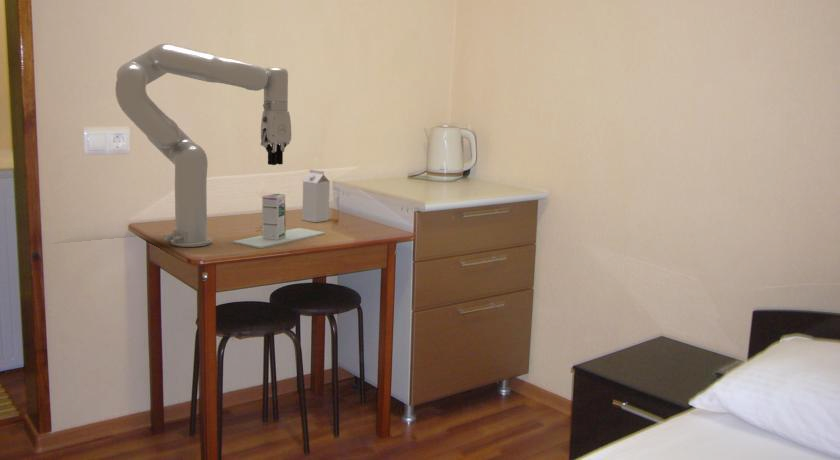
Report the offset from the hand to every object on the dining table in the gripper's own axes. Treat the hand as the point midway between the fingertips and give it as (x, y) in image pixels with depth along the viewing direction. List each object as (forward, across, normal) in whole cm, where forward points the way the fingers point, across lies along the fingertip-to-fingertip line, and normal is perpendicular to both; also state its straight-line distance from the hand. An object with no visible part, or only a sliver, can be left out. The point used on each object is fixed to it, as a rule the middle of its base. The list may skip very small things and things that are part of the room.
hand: (275, 163), depth 251 cm
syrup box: (+25, 0, 0) cm, 25 cm away
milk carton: (+25, +37, +13) cm, 47 cm away
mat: (+25, +3, 0) cm, 25 cm away
